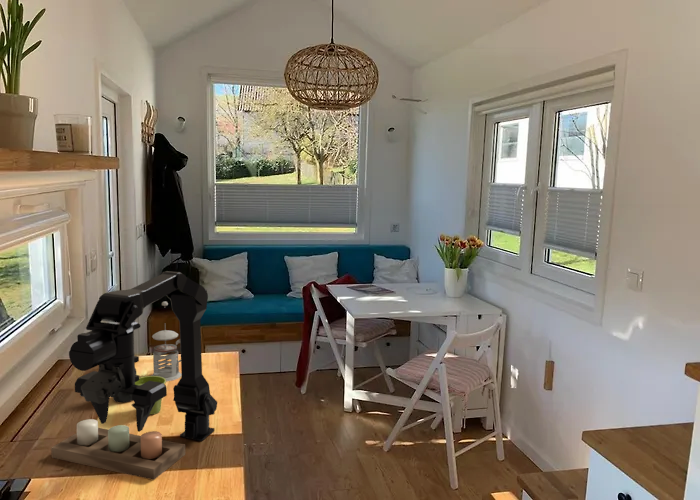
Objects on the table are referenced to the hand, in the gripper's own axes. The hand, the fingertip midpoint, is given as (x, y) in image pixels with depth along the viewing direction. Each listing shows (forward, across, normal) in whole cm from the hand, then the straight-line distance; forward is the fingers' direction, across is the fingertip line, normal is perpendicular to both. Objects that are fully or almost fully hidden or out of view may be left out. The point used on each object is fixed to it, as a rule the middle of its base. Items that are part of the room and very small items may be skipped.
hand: (121, 426), depth 117 cm
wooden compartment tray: (+14, -11, +12) cm, 22 cm away
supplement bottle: (+15, -33, +39) cm, 53 cm away
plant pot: (+15, -21, +34) cm, 43 cm away
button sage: (+12, -11, +12) cm, 20 cm away
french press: (+15, -32, +59) cm, 69 cm away
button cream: (+12, -20, +12) cm, 26 cm away
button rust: (+12, -2, +12) cm, 17 cm away
